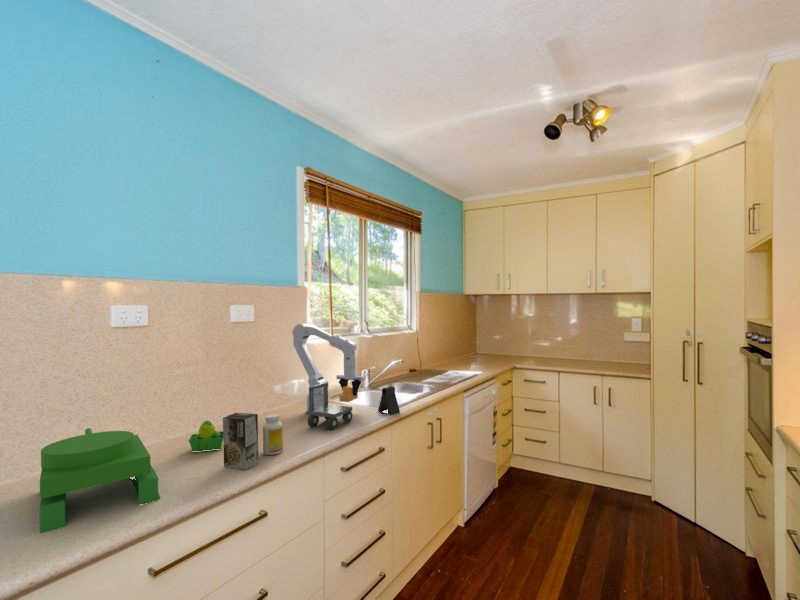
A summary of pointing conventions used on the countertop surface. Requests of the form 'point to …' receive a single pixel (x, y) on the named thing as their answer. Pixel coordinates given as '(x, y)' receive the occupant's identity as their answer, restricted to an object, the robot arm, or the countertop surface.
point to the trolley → (325, 404)
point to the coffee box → (240, 440)
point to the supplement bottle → (272, 435)
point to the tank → (92, 470)
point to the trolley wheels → (329, 420)
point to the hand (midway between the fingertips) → (350, 395)
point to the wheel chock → (347, 394)
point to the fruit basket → (206, 438)
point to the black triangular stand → (389, 401)
